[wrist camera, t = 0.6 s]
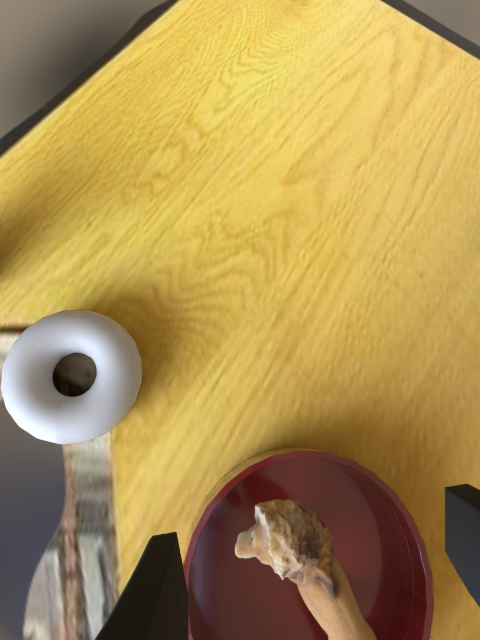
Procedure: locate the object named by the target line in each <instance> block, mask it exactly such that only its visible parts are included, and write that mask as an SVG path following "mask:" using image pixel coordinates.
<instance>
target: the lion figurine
mask: <svg viewBox="0 0 480 640" xmlns="http://www.w3.org/2000/svg"><path fill="white" fill-rule="evenodd" d="M255 519H256V523H255V524H254V525H253V526H252V527H251V528H249V529H247V530H246V531H244V532H241V533H240V534H239V535H238V538H237V543H236V545H235V554H236V556H237V557H239V558H251V557H257V558H258V559H259V560H260V561H261V563H263V564H267V565H270V566H271V567H272V568H273V569H274V572H275V573H277V574H278V575H280V577H281V579H282V580H283V579H284V578H285V577H288V578H289V579H290V580H291V581H293V582H294V583H296V584H297V586H298V589H299V592H300V594H301V596H302V598H303V600H304V602H305V604H306V606H307V607H308V609H309V610H310V611H311V613H312V614H313V616H314V617H315V619H316V620H317V621H318V623H319V624H320V626H321V627H322V628H323V629H324V630H325V631H326V633H327V634H328V637H329V638H328V640H377V638H376V636H375V634H374V632H373V630H372V628H371V627H370V626H369V624H368V623H367V622H366V621H365V619H364V618H363V616H362V614H361V612H360V610H359V607H358V605H357V602H356V600H355V597H354V595H353V592H352V590H351V587H350V584H349V582H348V579H347V577H346V575H345V573H344V571H343V569H342V567H341V565H340V564H339V562H338V560H337V559H336V557H335V556H334V552H333V548H332V546H333V544H332V538H331V534H330V531H329V529H328V528H327V526H326V525H325V523H324V522H323V521H322V520H321V519H319V518H318V516H317V515H316V513H315V512H314V511H312V510H310V509H308V507H307V506H303V505H302V504H301V503H299V502H297V501H291V500H290V499H287V500H284V501H283V500H280V499H275V500H272V501H267V502H265V503H263V502H260V503H259V504H257V505H255Z"/></svg>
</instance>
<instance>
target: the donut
mask: <svg viewBox="0 0 480 640" xmlns="http://www.w3.org/2000/svg"><path fill="white" fill-rule="evenodd" d="M72 353H83V354H86V355H87V356H89V357H90V358H92V360H93V361H94V362H95V365H96V368H97V376H96V379H95V382H94V384H93V385H92V387H91V388H90V389H89V390H88V391H87V392H85V393H84V394H83V395H80V396H77V397H68V396H64V395H62V394H60V393H59V392H58V391H57V390H56V388H55V387H54V384H53V371H54V369H55V366H56V365H57V363H58V362H59V361H60V360H61V359H62V358H64V357H65V356H66V355H69V354H72ZM141 383H142V359H141V356H140V354H139V351H138V348H137V345H136V342H135V341H134V339H133V338H132V337H131V336H130V334H129V333H128V332H127V331H126V329H125V328H124V327H123V326H122V325H120V324H119V323H117V322H115V321H114V320H112V319H111V318H109V317H108V316H106V315H103V314H99V313H95V312H91V311H88V310H66V311H61V312H58V313H55V314H52V315H49V316H46V317H43V318H42V319H40V320H39V321H37V322H36V323H34V324H33V325H32V326H30V327H29V328H27V329H26V330H25V331H24V332H23V333H22V334H21V335H20V337H19V338H18V339H17V340H16V341H15V343H14V344H13V345H12V346H11V348H10V351H9V353H8V355H7V358H6V360H5V363H4V365H3V368H2V381H1V391H2V394H3V398H4V402H5V405H6V409H7V410H8V412H9V413H10V414H11V416H12V417H13V419H14V420H15V421H16V423H17V424H18V426H19V427H21V428H23V429H24V430H25V431H27V432H28V433H30V434H32V435H33V436H34V437H36V438H38V439H41V440H46V441H50V442H54V443H58V444H71V443H83V442H86V441H88V440H91V439H93V438H96V437H98V436H101V435H103V434H105V433H107V432H108V431H109V430H110V429H112V428H113V427H114V426H115V425H117V424H118V423H119V422H120V421H122V420H123V419H124V417H125V416H126V414H127V413H128V412H129V410H130V409H131V407H132V406H133V404H134V403H135V401H136V399H137V395H138V392H139V389H140V386H141Z"/></svg>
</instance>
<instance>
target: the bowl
mask: <svg viewBox="0 0 480 640" xmlns="http://www.w3.org/2000/svg"><path fill="white" fill-rule="evenodd" d="M275 499H280V500H283V501H284V500H287V499H290V500H291V501H297V502H299V503H301V504H302V505H303V506H307V507H308V509H310V510H312V511H314V512H315V513H316V515H317V516H318V518H319V519H321V520H322V521H323V522H324V523H325V525H326V526H327V528H328V529H329V531H330V534H331V538H332V544H333V546H332V548H333V552H334V556H335V557H336V559H337V560H338V562H339V564H340V565H341V567H342V569H343V571H344V573H345V575H346V577H347V579H348V582H349V584H350V587H351V590H352V592H353V595H354V597H355V600H356V602H357V605H358V607H359V610H360V612H361V614H362V616H363V618H364V619H365V621H366V622H367V623H368V624H369V626H370V627H371V628H372V630H373V632H374V634H375V636H376V638H377V640H429V638H430V633H431V625H432V617H433V609H434V600H433V583H432V572H431V568H430V564H429V560H428V556H427V552H426V548H425V544H424V542H423V539H422V537H421V535H420V533H419V531H418V528H417V526H416V524H415V522H414V520H413V518H412V516H411V514H410V513H409V511H408V510H407V509H406V507H405V506H404V504H403V503H402V502H401V500H400V499H399V497H398V496H397V495H396V493H395V492H394V491H393V490H392V489H391V488H390V487H389V486H388V485H386V484H385V483H384V482H383V481H382V480H381V479H380V478H379V477H378V476H377V475H376V474H374V473H373V472H371V471H370V470H368V469H366V468H364V467H363V466H361V465H359V464H358V463H356V462H354V461H352V460H350V459H347V458H344V457H341V456H338V455H334V454H331V453H328V452H324V451H320V450H316V449H310V448H293V447H288V448H282V449H276V450H272V451H266V452H264V453H261V454H259V455H257V456H254V457H252V458H250V459H248V460H246V461H244V462H242V463H241V464H239V465H238V466H236V467H235V468H234V469H233V470H231V471H230V472H229V473H227V474H226V475H225V476H224V477H223V478H222V479H221V480H220V481H219V482H218V483H217V484H216V485H215V487H214V488H213V489H212V491H211V492H210V493H209V494H208V495H207V497H206V498H205V500H204V502H203V504H202V505H201V507H200V509H199V510H198V513H197V515H196V517H195V519H194V520H193V523H192V526H191V529H190V533H189V536H188V539H187V543H186V546H185V550H184V559H183V569H184V575H185V580H186V585H187V590H188V596H189V618H188V640H328V638H329V637H328V634H327V633H326V631H325V630H324V629H323V628H322V627H321V626H320V624H319V623H318V621H317V620H316V619H315V617H314V616H313V614H312V613H311V611H310V610H309V609H308V607H307V606H306V604H305V602H304V600H303V598H302V596H301V594H300V592H299V589H298V586H297V584H296V583H294V582H293V581H291V580H290V579H289V578H288V577H285V578H284V579H283V580H282V579H281V577H280V575H278V574H277V573H275V572H274V569H273V568H272V567H271V566H270V565H267V564H263V563H261V561H260V560H259V559H258V558H257V557H251V558H239V557H237V556H236V554H235V545H236V543H237V538H238V535H239V534H240V533H241V532H244V531H246V530H247V529H249V528H251V527H252V526H253V525H254V524H255V523H256V519H255V505H257V504H259V503H260V502H263V503H265V502H267V501H272V500H275Z"/></svg>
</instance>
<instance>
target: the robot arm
mask: <svg viewBox="0 0 480 640" xmlns="http://www.w3.org/2000/svg"><path fill="white" fill-rule="evenodd" d="M445 552H446V554H447V555H448V557H449V559H450V561H451V562H452V564H453V566H454V568H455V569H456V571H457V573H458V575H459V576H460V578H461V580H462V581H463V583H464V585H465V586H466V588H467V590H468V591H469V593H470V594H471V596H472V597H473V599H474V600H475V601H476V603H477V604H478V606H479V607H480V490H478V489H477V488H475V487H473V486H471V485H469V484H463V485H456V486H450V487H445ZM188 618H189V596H188V590H187V585H186V580H185V575H184V569H183V564H182V559H181V554H180V548H179V543H178V538H177V533H176V532H173V533H167V534H161V535H155V536H152V537H151V539H150V540H149V542H148V544H147V546H146V548H145V550H144V552H143V554H142V556H141V558H140V560H139V562H138V564H137V566H136V568H135V570H134V572H133V574H132V576H131V578H130V580H129V581H128V583H127V585H126V587H125V589H124V591H123V592H122V594H121V596H120V598H119V599H118V601H117V603H116V605H115V607H114V608H113V610H112V612H111V614H110V615H109V617H108V619H107V621H106V622H105V624H104V626H103V627H102V629H101V630H100V632H99V634H98V635H97V637H96V638H95V640H188Z"/></svg>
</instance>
